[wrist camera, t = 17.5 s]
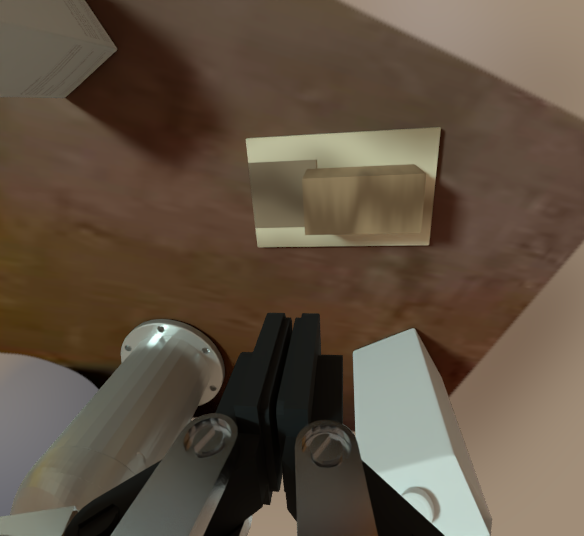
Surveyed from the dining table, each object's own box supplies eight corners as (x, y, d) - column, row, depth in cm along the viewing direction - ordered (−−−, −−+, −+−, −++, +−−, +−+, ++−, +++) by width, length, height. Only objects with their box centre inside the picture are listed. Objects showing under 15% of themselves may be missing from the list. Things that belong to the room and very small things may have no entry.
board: (427, 242, 33) (429, 245, 32) (259, 245, 35) (257, 247, 35) (439, 127, 29) (441, 127, 28) (247, 138, 31) (245, 138, 31)
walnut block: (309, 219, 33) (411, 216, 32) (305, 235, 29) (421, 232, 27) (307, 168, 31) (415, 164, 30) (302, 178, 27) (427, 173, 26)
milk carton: (441, 375, 39) (516, 588, 22) (380, 395, 41) (406, 602, 24) (414, 326, 37) (474, 519, 20) (352, 350, 39) (358, 541, 22)
